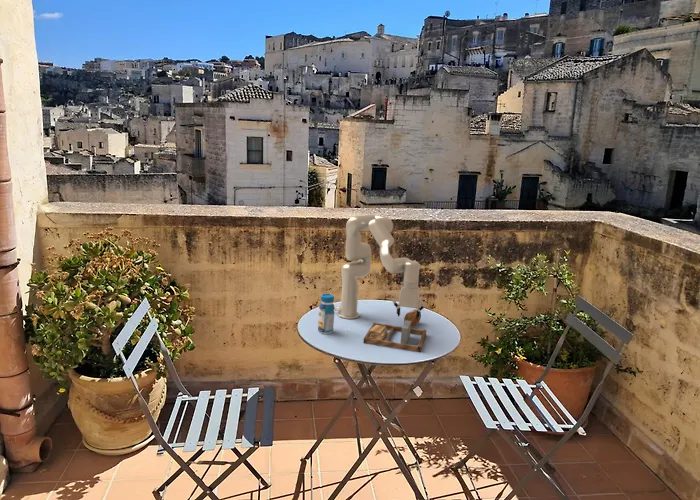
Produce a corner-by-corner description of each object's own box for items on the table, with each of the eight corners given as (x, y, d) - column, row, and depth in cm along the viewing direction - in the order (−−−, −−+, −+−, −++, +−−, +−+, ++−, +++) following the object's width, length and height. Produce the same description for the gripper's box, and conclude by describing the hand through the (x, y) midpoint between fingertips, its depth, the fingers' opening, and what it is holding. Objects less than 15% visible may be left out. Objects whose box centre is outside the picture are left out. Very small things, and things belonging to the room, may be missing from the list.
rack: (363, 342, 276) (363, 337, 275) (373, 326, 299) (373, 321, 298) (420, 352, 269) (420, 346, 268) (425, 335, 292) (426, 329, 291)
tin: (407, 329, 299) (408, 315, 297) (402, 327, 300) (403, 313, 298) (420, 322, 310) (422, 308, 308) (416, 321, 312) (417, 307, 310)
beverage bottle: (331, 335, 283) (333, 298, 278) (315, 333, 284) (317, 296, 280) (335, 329, 291) (337, 294, 286) (319, 327, 292) (321, 292, 288)
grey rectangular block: (400, 344, 277) (401, 327, 275) (404, 336, 289) (405, 320, 287) (406, 345, 277) (407, 328, 275) (409, 337, 288) (411, 321, 286)
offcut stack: (368, 340, 281) (368, 331, 280) (374, 331, 293) (374, 323, 292) (382, 342, 279) (382, 333, 278) (387, 333, 291) (388, 325, 290)
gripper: (392, 284, 274) (390, 316, 278) (426, 289, 270) (423, 321, 274) (395, 281, 281) (392, 312, 285) (428, 285, 277) (425, 316, 281)
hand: (407, 316), depth 279 cm, fingers open, 9 cm apart
